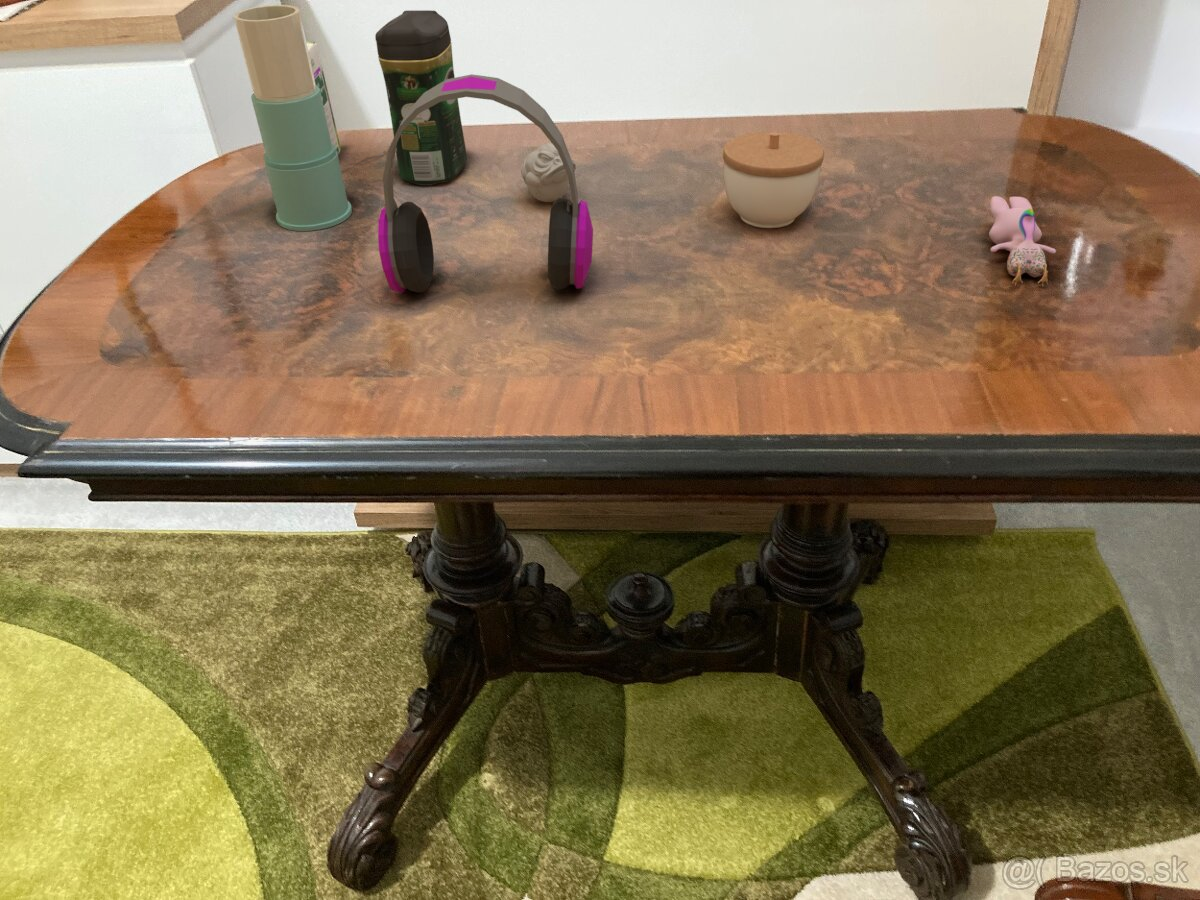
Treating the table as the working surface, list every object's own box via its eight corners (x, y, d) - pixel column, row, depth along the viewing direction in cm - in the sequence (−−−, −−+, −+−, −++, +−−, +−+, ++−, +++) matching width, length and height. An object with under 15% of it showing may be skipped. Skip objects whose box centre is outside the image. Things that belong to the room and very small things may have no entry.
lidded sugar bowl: (702, 208, 106) (706, 126, 100) (783, 190, 109) (790, 110, 103) (750, 245, 98) (757, 159, 92) (835, 225, 101) (846, 141, 95)
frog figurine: (548, 217, 105) (544, 158, 101) (511, 199, 109) (506, 141, 105) (588, 202, 108) (586, 143, 104) (552, 185, 112) (548, 128, 108)
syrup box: (333, 171, 118) (307, 53, 109) (287, 173, 118) (257, 54, 109) (342, 155, 122) (318, 39, 113) (298, 156, 122) (270, 41, 113)
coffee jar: (415, 157, 121) (390, 4, 109) (473, 158, 120) (455, 4, 108) (391, 186, 113) (362, 26, 102) (453, 188, 112) (431, 26, 101)
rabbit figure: (1058, 299, 90) (1029, 211, 100) (1078, 248, 86) (1046, 162, 95) (991, 296, 91) (969, 210, 101) (1008, 246, 86) (984, 161, 96)
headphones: (381, 310, 90) (338, 101, 77) (397, 267, 96) (361, 70, 84) (594, 305, 89) (586, 94, 77) (595, 263, 96) (588, 63, 83)
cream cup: (278, 106, 95) (258, 24, 90) (242, 95, 98) (221, 15, 93) (328, 90, 99) (311, 10, 94) (292, 80, 102) (274, 2, 97)
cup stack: (307, 238, 103) (275, 111, 94) (262, 218, 107) (228, 96, 98) (367, 211, 108) (342, 89, 99) (321, 194, 112) (294, 75, 103)
